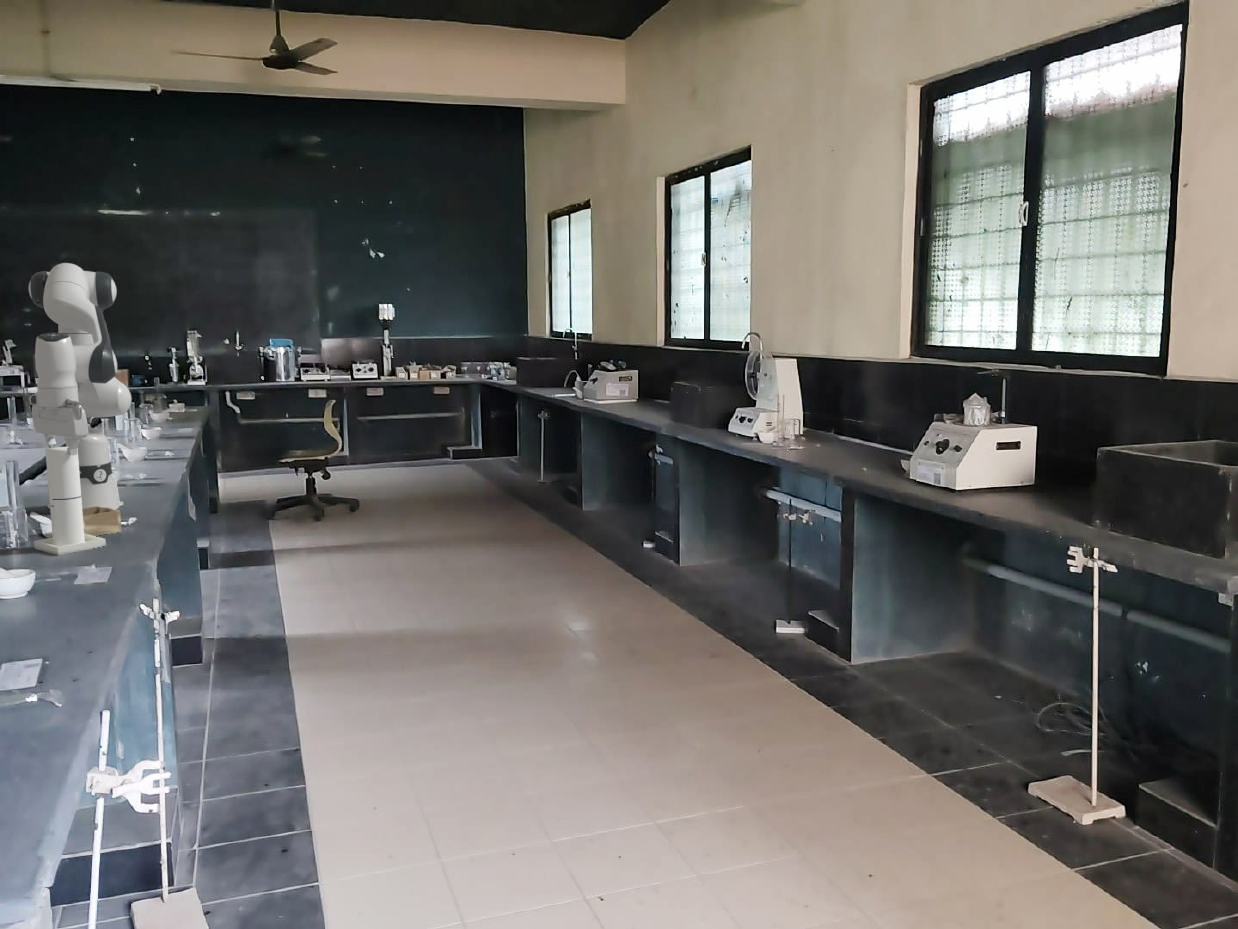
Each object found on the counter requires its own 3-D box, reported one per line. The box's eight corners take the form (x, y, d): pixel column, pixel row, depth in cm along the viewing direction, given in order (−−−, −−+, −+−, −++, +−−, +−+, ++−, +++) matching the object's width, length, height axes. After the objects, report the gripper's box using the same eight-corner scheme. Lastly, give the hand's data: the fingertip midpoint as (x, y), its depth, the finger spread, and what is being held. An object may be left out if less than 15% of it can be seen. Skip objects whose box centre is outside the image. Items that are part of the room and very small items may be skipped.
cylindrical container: (71, 549, 256) (64, 451, 252) (46, 547, 257) (38, 450, 253) (91, 542, 263) (83, 447, 259) (66, 541, 264) (59, 446, 260)
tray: (34, 548, 259) (34, 541, 258) (81, 539, 268) (81, 532, 268) (58, 555, 252) (57, 547, 252) (106, 546, 262) (105, 538, 261)
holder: (62, 533, 275) (60, 512, 274) (101, 526, 284) (99, 505, 283) (83, 539, 269) (81, 517, 268) (121, 531, 278) (120, 510, 277)
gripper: (92, 400, 251) (97, 455, 253) (51, 395, 262) (55, 448, 265) (67, 402, 246) (71, 458, 248) (25, 397, 257) (30, 450, 260)
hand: (62, 453), depth 256 cm, fingers open, 8 cm apart
